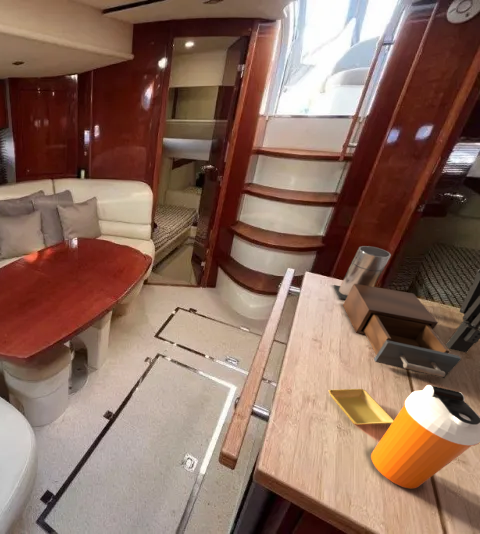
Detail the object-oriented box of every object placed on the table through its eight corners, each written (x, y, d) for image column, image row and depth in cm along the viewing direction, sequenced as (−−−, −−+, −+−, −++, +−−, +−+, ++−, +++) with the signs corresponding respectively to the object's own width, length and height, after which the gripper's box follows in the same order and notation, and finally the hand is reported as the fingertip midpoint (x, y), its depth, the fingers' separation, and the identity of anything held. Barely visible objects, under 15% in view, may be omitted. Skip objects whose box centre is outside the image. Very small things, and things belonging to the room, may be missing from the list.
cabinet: (420, 346, 86) (438, 322, 82) (355, 332, 91) (369, 309, 87) (399, 315, 98) (413, 293, 93) (342, 305, 103) (353, 283, 99)
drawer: (454, 392, 72) (472, 371, 69) (381, 373, 77) (394, 354, 74) (419, 342, 86) (432, 323, 83) (359, 330, 91) (369, 311, 88)
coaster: (363, 291, 110) (364, 290, 109) (372, 305, 103) (372, 304, 102) (333, 286, 113) (333, 284, 113) (339, 299, 106) (340, 298, 106)
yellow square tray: (392, 428, 66) (397, 422, 65) (352, 429, 66) (356, 424, 65) (359, 394, 73) (363, 388, 72) (324, 395, 73) (327, 389, 72)
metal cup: (362, 290, 109) (385, 248, 101) (370, 303, 103) (395, 259, 94) (335, 285, 112) (355, 244, 104) (341, 297, 106) (363, 254, 97)
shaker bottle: (381, 487, 56) (443, 422, 46) (355, 440, 64) (404, 375, 54) (440, 500, 54) (518, 435, 44) (406, 450, 62) (467, 385, 52)
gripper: (603, 273, 47) (500, 376, 59) (538, 240, 57) (461, 334, 69) (533, 264, 50) (448, 364, 62) (483, 234, 60) (418, 325, 72)
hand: (455, 348), depth 65 cm, fingers closed
